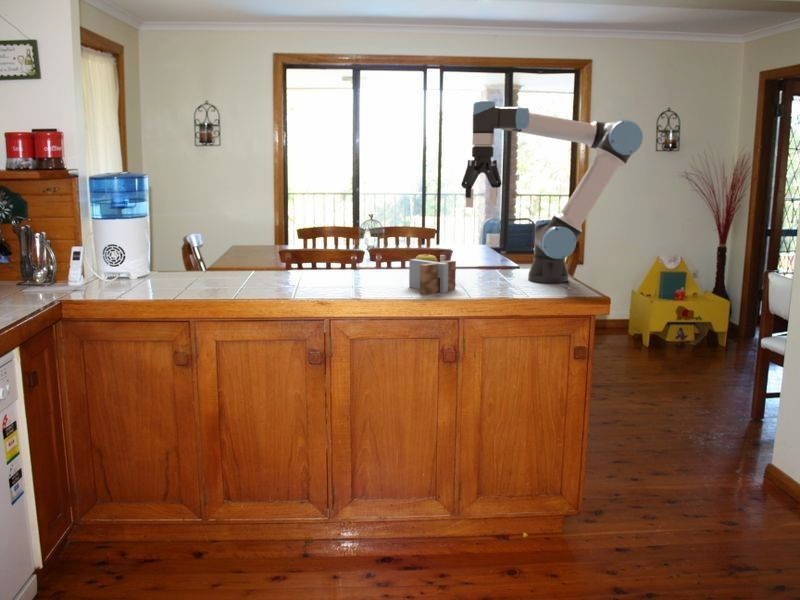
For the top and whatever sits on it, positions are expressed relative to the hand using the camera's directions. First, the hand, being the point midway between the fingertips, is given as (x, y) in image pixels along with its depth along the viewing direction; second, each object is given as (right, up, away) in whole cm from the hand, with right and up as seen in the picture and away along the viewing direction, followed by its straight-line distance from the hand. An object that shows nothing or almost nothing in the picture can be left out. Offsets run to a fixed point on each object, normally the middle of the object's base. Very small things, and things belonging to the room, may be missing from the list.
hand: (481, 206), depth 272 cm
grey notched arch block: (-19, -30, -5) cm, 36 cm away
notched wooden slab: (-16, -30, -8) cm, 35 cm away
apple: (-19, -23, +33) cm, 44 cm away
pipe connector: (-13, -27, +12) cm, 32 cm away
